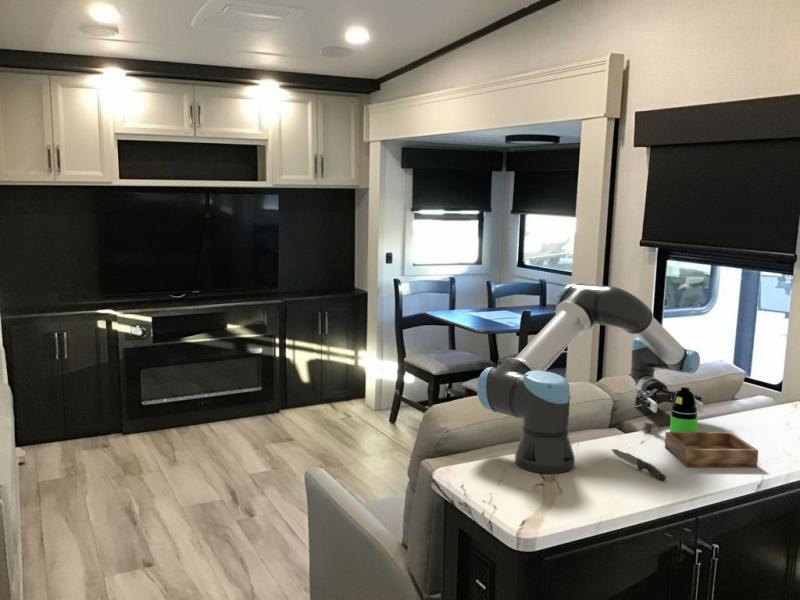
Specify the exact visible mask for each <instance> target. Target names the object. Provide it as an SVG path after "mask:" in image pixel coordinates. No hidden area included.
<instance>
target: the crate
mask: <svg viewBox="0 0 800 600" xmlns="http://www.w3.org/2000/svg"><path fill="white" fill-rule="evenodd" d="M664 438H665V439H664V440H665V441H664V449H666V450H667V452H668V453H670V454H671V455H672V456H673V457H675V458H676V459H677V461H679V462H681V463H682V465H684V466H685V467H686V468H758V462H759V461H758V459H759V450H758V449H757V448H756V447H755V446H753V445H751V444H750V443H748V442H747V441H745V440H743V439H741V438H740V437H738V436H737V435H736V434H735V433H732V432H729V431H728V432H727V431H726V432H725V431H718V432H717V431H715V432H714V431H713V432H712V431H696V432H670V431H665V437H664Z"/></svg>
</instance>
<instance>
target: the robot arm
mask: <svg viewBox="0 0 800 600" xmlns="http://www.w3.org/2000/svg"><path fill="white" fill-rule="evenodd" d="M557 298H558V299H556V301H555V315H554V316H553V317H552V318H551V319H550V320H549V322H547V323H546V324H545V326H544V327H543V328H542V329H541V330H540V331H539V332H538V333H537V334H536V335H535V336H534V337H533V338H532V339H531V340H530V341H529V343H527V344H526V346H525V347H524V348H523V349H522V350H521V351H520V352H519V353H518V354H517V355H516V357H509V358H506V359H505V360H504V361H502V363H501V364H500V365H499V366H498V367H496V366H491V367H486V368H484V370H483V371H482V372H481V373H480V375H479V377H478V379H477V388H476V393H477V398H478V401H479V403H480V404H481V406H482V407H484V408H485V409H487V410H490V411H492V412H493V413H500V414H503V415H506V416H510V417H514V418H518V419H521V420H522V434H521V436H520V439H519V442H518V445H517V447H516V450H515V454H514V455H515V456H514V457H515V458H514V459H515V460H514V463H515V464H516V465H517V466H518V467H519V468H522V469H523V470H525V471H529V472H532V473H540V474H561V473H566V472H569V471H571V470H573V469H574V468H575V465H576V464H575V454H574V451H573V447H572V444H571V440H570V437H569V430H570V429H569V427H570V403H571V394H570V393H571V392H570V390H571V389H570V384H569V381H568V380H567V379H566V378H565V377H564V376H562V375H559V374H557V373H554V372H550V371H547V370H548V368H550V366H551V365H552V364H553V363H554V362H555V361H556V360H557V358H558V357H559V356H560V355H561V354H562V353H563V352H564V351H565V349H566V348H567V347H568V346H569V345H570V344H571V342H573V341H574V340H575V338H576V337H577V336H579V335H582V334H586V333H588V332H589V331H590V330H591V329H592V327H593V326H594V325H599V326H605V327H607V326H608V327H613V328H619V329H622V330H624V331H625V332H626V333H627V334H630V335H634V336H635V337H634V338H633V340H632V345H631V368H630V372H629V373H628V374H627V376H631V377H632V378H633V379H634V380H635V382H636V385H637V388H638V390H637V393H636V395H635V398H634V399H635V401H634V402H635V406H640V405H641V409H647V408H648V409H649V410H651V411H652V412H653V413H658V405H660V404H662V403H672V404H673V400H674V397H675V394H676V393H677V392H678V391H679V390H680V389H679V390H676V391H674V390H669V389H668V386H667V385H666V384H665V383H663V382H662V381H660V380H659V379H657V378H656V377H655V370H656V369H661V370H667V371H673V372H677V373H682V374H691V375H692V374H695V373H696V372H697V371H698V369H699V366H700V363H701V356H700V354H699V352H697V351H696V350H692V349H686V348H684V346H683V345H681V343H680V342H679V341H677V339H676V338H675V337H673V336H672V334H671V333H670V332H668V330H667V329H666V328H665V327H664V326H663V325H662V324H661V323H660V322H659V321H658V320H657V319H656V318H655V317H654V316H653V311H652V309H651V308H650V307H649V306H648V305H647V304H645V302H644V301H643V300H641V299H640V298H639V297H637V296H636V295H634V294H632V293H630V292H629V291H627V290H625V289H622V288H620V287H616V286H607V285H598V284H590V283H589V284H587V283H581V282H580V283H569V284H567V285H566V286H564V287H563V288H562V289H561V290H560V291H559V294H558V295H557ZM694 396H695V400H696V407H697V412H699V413H704V403H703V401H702V400H703V397H701V396H698V395H697V394H694Z"/></svg>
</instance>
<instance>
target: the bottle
mask: <svg viewBox="0 0 800 600" xmlns="http://www.w3.org/2000/svg"><path fill="white" fill-rule="evenodd" d="M694 395H695V394H694V393H693V391H692V390H691V388H689V387H684V386H683V387H680V389H679V391H678V392H677V393H676V394H675V397H674V400H673V403H672V404H671V409H670V424H669V425H670V428H669V432H698V431H697V428H698V427H697V426H698V411H697V407H696V400H695V396H694Z"/></svg>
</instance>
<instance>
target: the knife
mask: <svg viewBox="0 0 800 600" xmlns="http://www.w3.org/2000/svg"><path fill="white" fill-rule="evenodd" d="M611 451H612V453H613V454H614V455H615V456H616V457H618V458H620V459H621V460H623V461H626V462H627V463H630V464H632V465H634V466H636V467H637V470H638V471H641V470H646V471H647V472H648V473H649V475H650V476H653V477H654V478H656V479H657V480H659V481H661V482H663V481H666V480H667V475H666V474H665V473H663V472H662V471H661V470H659V469H658V468H657V467H656V466H655V465H653V464H651V463H649V462H646V461H644V460H643V459H641V458H639V457H636V456H634V455H632V454H631V453H629V452H623V451H620V450H618V449H617V448H614V449H613V448H612V449H611Z"/></svg>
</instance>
